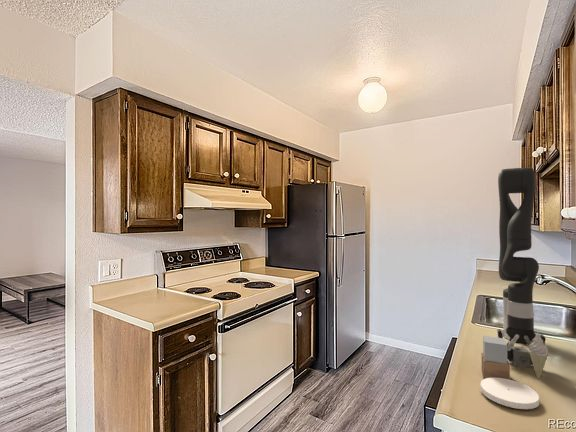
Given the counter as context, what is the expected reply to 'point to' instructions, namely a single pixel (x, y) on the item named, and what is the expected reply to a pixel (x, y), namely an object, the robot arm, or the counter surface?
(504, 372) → the tower base
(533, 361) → the ice cream cone
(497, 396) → the plastic lid
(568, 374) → the counter surface
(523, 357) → the dice cube
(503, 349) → the tower top
